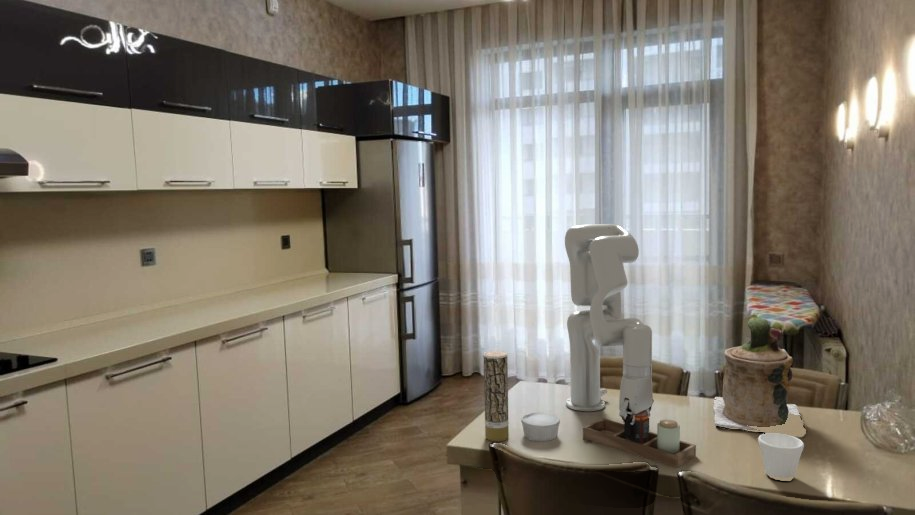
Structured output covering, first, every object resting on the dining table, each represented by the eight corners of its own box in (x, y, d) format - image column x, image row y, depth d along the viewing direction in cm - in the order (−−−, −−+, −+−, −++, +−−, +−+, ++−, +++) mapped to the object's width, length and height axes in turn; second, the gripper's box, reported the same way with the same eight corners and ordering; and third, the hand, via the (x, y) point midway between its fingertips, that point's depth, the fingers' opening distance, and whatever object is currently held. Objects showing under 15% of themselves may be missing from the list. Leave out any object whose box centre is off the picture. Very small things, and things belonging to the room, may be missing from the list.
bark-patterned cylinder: (507, 443, 182) (505, 357, 179) (483, 441, 183) (481, 356, 180) (510, 434, 188) (508, 350, 186) (487, 432, 190) (485, 350, 187)
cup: (766, 464, 164) (767, 429, 163) (809, 476, 157) (810, 439, 156) (750, 477, 157) (751, 440, 156) (793, 490, 150) (795, 452, 149)
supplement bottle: (648, 439, 177) (649, 400, 176) (647, 448, 172) (648, 407, 171) (626, 437, 179) (626, 398, 178) (624, 445, 174) (625, 405, 173)
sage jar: (664, 450, 173) (664, 417, 172) (683, 456, 169) (683, 422, 168) (653, 456, 169) (653, 422, 168) (672, 462, 165) (673, 428, 164)
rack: (603, 430, 190) (603, 418, 189) (695, 458, 169) (695, 445, 168) (582, 439, 183) (582, 427, 182) (676, 470, 162) (676, 456, 161)
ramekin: (529, 426, 194) (528, 409, 193) (564, 432, 189) (564, 414, 188) (515, 440, 184) (515, 422, 183) (553, 446, 179) (552, 428, 178)
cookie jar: (713, 429, 188) (715, 322, 185) (713, 402, 211) (714, 307, 207) (808, 439, 179) (812, 327, 176) (797, 410, 202) (800, 310, 198)
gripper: (642, 361, 182) (641, 422, 184) (607, 374, 170) (607, 439, 172) (666, 366, 176) (665, 428, 178) (631, 379, 165) (631, 447, 167)
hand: (636, 433), depth 175 cm, fingers closed on supplement bottle, 6 cm apart
